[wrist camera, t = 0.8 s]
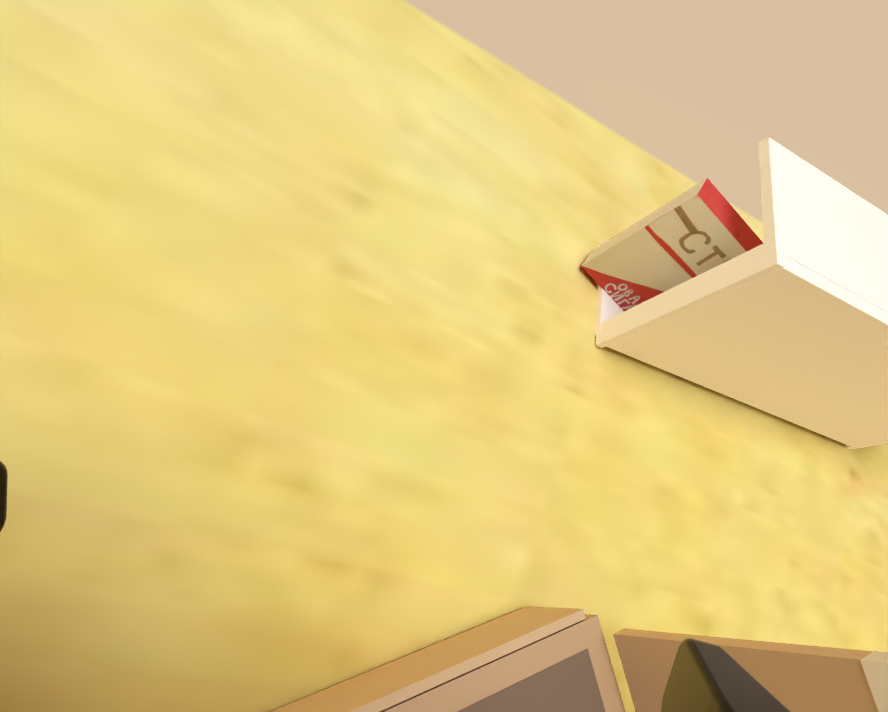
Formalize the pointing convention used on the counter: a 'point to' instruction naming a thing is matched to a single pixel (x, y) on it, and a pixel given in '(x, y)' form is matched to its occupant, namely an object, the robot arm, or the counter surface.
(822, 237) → the white channel bracket
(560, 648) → the carton
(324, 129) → the counter surface
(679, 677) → the robot arm
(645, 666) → the flap
